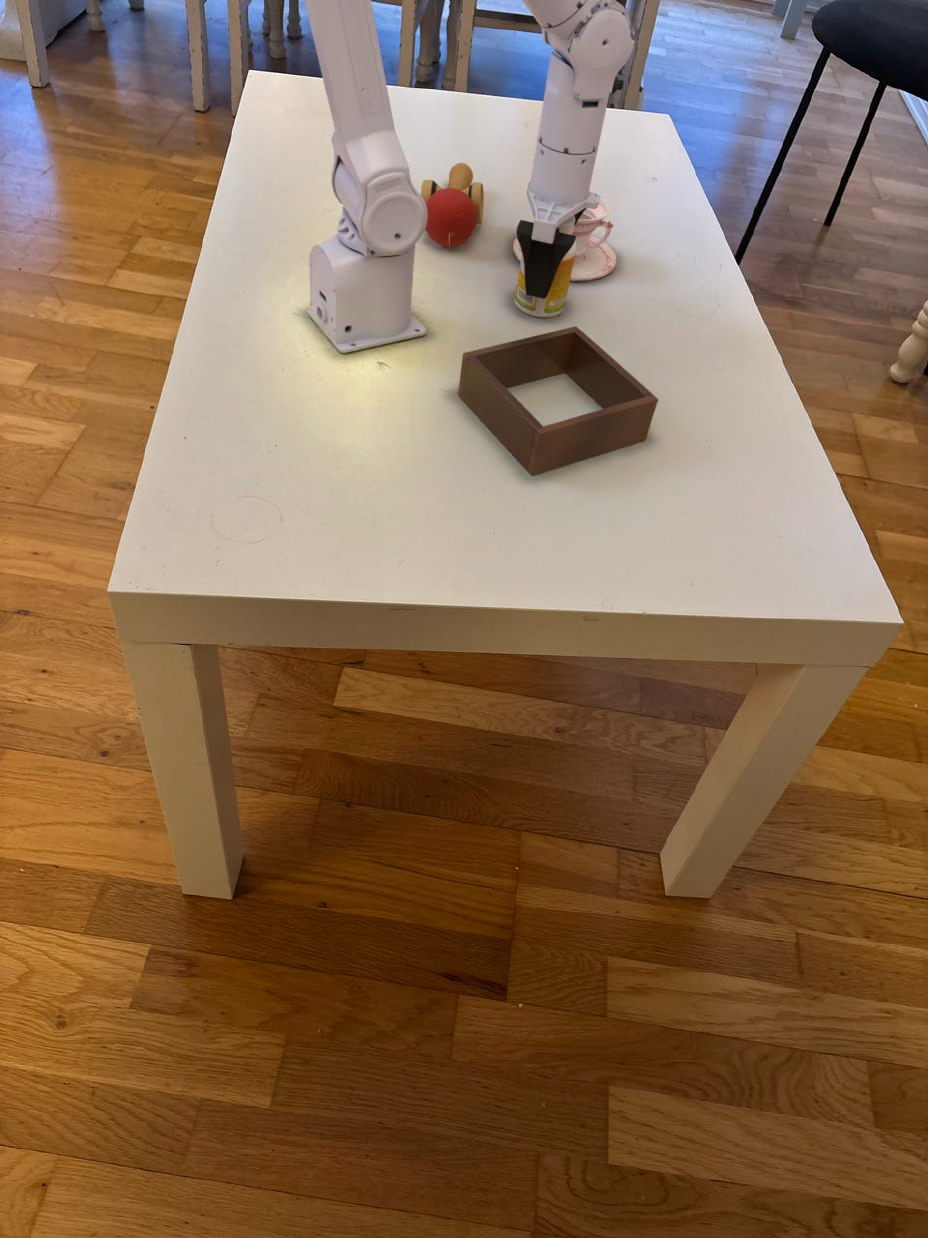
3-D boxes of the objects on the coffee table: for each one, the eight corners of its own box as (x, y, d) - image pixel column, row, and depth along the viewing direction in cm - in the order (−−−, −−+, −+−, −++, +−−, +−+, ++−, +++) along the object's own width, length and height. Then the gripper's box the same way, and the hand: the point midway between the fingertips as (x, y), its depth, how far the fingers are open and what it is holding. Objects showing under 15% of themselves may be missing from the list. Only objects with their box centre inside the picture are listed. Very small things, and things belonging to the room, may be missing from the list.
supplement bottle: (564, 296, 99) (583, 207, 91) (563, 322, 95) (582, 231, 88) (515, 288, 99) (529, 199, 91) (512, 314, 95) (527, 223, 88)
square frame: (531, 476, 78) (540, 433, 75) (457, 395, 85) (462, 352, 81) (645, 440, 83) (658, 399, 80) (567, 366, 90) (576, 325, 86)
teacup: (493, 258, 103) (501, 203, 98) (540, 221, 110) (549, 168, 105) (589, 294, 99) (602, 239, 95) (631, 253, 107) (644, 201, 102)
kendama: (421, 193, 114) (405, 240, 101) (435, 140, 110) (420, 182, 97) (480, 213, 115) (472, 263, 102) (496, 162, 111) (490, 206, 98)
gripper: (598, 181, 79) (568, 322, 89) (620, 123, 89) (590, 256, 99) (520, 164, 80) (499, 306, 90) (550, 108, 90) (528, 242, 100)
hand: (542, 279), depth 95 cm, fingers open, 6 cm apart
